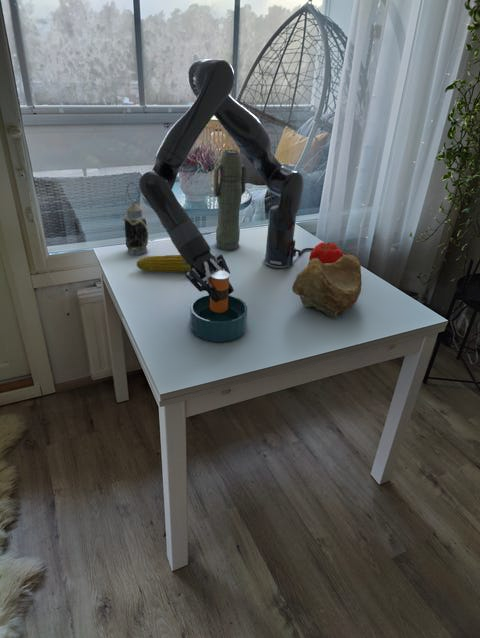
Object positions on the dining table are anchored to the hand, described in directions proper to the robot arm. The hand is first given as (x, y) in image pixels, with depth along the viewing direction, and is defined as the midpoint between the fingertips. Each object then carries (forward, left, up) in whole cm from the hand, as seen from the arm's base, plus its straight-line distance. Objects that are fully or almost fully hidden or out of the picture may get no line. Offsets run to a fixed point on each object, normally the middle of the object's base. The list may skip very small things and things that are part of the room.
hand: (225, 296), depth 116 cm
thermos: (-16, -56, -11) cm, 60 cm away
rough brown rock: (-35, -5, -11) cm, 37 cm away
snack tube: (+1, -1, -4) cm, 4 cm away
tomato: (-45, -30, -11) cm, 55 cm away
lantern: (+18, -56, -11) cm, 60 cm away
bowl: (+1, -1, -10) cm, 11 cm away
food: (+9, -38, -11) cm, 41 cm away
